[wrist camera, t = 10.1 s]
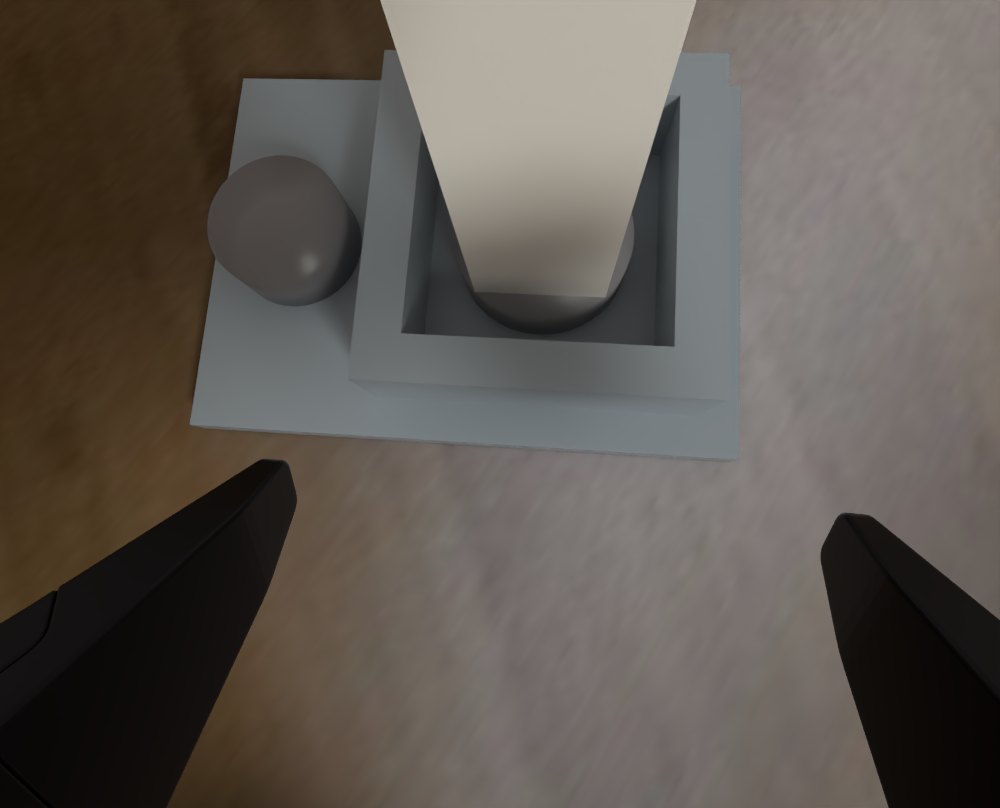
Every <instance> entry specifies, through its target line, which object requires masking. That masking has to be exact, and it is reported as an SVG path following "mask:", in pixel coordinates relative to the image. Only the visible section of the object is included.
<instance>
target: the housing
mask: <svg viewBox="0 0 1000 808" xmlns="http://www.w3.org/2000/svg"><path fill="white" fill-rule="evenodd" d="M740 205H741V85H730V53H680V56H679V59H678V62H677V66H676V69H675V72H674V75H673V79H672V82H671V85H670V88H669V92H668V95H667V98H666V102H665V105H664V108H663V111H662V115H661V118H660V121H659V124H658V128H657V131H656V134H655V137H654V141H653V144H652V147H651V151H650V154H649V157H648V160H647V164H646V167H645V170H644V173H643V177H642V180H641V183H640V186H639V190H638V193H637V196H636V199H635V203H634V206H633V209H632V217H633V222H634V245H633V251H632V255H631V259H630V261H629V264H628V267H627V270H626V272H625V275H624V278H623V280H622V283H621V285H620V288H619V290H618V291H617V293H616V295H615V297H614V298H613V299H612V301H611V302H610V303H609V305H608V306H607V307H606V308H605V309H604V310H603V311H602V312H601V313H600V314H599V315H597V316H596V317H595V318H593V319H592V320H590V321H589V322H587V323H585V324H584V325H582V326H579V327H577V328H575V329H572V330H569V331H566V332H562V333H556V334H547V335H537V334H528V333H524V332H519V331H516V330H513V329H511V328H508V327H506V326H504V325H502V324H500V323H498V322H497V321H495V320H494V319H493V318H491V317H490V316H488V315H487V314H486V313H485V312H484V311H483V310H482V309H481V308H480V307H479V305H478V304H477V303H476V302H475V300H474V299H473V297H472V295H471V294H470V292H469V290H468V288H467V285H466V283H465V280H464V277H463V274H462V272H461V269H460V266H459V263H458V259H457V256H456V252H455V243H454V230H455V229H454V226H453V223H452V220H451V217H450V214H449V211H448V208H447V205H446V202H445V199H444V196H443V192H442V189H441V186H440V183H439V180H438V177H437V174H436V171H435V168H434V165H433V162H432V158H431V155H430V152H429V149H428V146H427V143H426V140H425V137H424V134H423V131H422V128H421V125H420V121H419V118H418V115H417V112H416V109H415V106H414V103H413V100H412V97H411V94H410V91H409V87H408V84H407V81H406V78H405V75H404V72H403V69H402V66H401V63H400V60H399V57H398V54H397V50H384V59H383V68H382V77H381V80H320V79H249V78H243V85H242V91H241V98H240V104H239V111H238V117H237V123H236V130H235V136H234V143H233V149H232V156H231V162H230V169H229V175H228V178H227V180H226V181H225V182H224V183H223V184H222V185H221V187H220V188H219V190H218V191H217V193H216V195H215V197H214V199H213V201H212V203H211V206H210V209H209V214H208V220H207V234H208V240H209V244H210V247H211V250H212V252H213V254H214V256H215V257H216V259H215V265H214V272H213V278H212V285H211V291H210V297H209V304H208V310H207V317H206V323H205V330H204V336H203V342H202V349H201V355H200V362H199V368H198V375H197V381H196V388H195V394H194V400H193V407H192V413H191V420H190V425H193V426H198V427H202V428H209V429H224V430H240V431H255V432H271V433H287V434H302V435H318V436H333V437H349V438H364V439H380V440H395V441H411V442H427V443H442V444H458V445H473V446H489V447H504V448H520V449H536V450H551V451H567V452H582V453H598V454H613V455H629V456H645V457H660V458H676V459H691V460H707V461H722V462H731V461H736V460H739V384H740Z"/></svg>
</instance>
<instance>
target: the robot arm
mask: <svg viewBox="0 0 1000 808" xmlns="http://www.w3.org/2000/svg"><path fill="white" fill-rule="evenodd" d="M296 504H297V495H296V491H295V487H294V483H293V479H292V475H291V471H290V468H289V465H288V464H287V462H286V461H283V460H275V459H261V460H259V461H257V462H256V463H254V464H252V465H251V466H249V467H248V468H246V469H245V470H243V471H241V472H240V473H238V474H237V475H235V476H233V477H232V478H230V479H229V480H227V481H226V482H224V483H222V484H221V485H219V486H218V487H216V488H215V489H213V490H211V491H210V492H208V493H207V494H205V495H204V496H202V497H200V498H199V499H197V500H196V501H194V502H192V503H191V504H189V505H188V506H186V507H185V508H183V509H181V510H180V511H178V512H177V513H175V514H174V515H172V516H170V517H169V518H167V519H166V520H164V521H163V522H161V523H159V524H158V525H156V526H155V527H153V528H151V529H150V530H148V531H147V532H145V533H144V534H142V535H140V536H139V537H137V538H136V539H134V540H133V541H131V542H129V543H128V544H126V545H125V546H123V547H122V548H120V549H118V550H117V551H115V552H114V553H112V554H110V555H109V556H107V557H106V558H104V559H103V560H101V561H99V562H98V563H96V564H95V565H93V566H92V567H90V568H88V569H87V570H85V571H84V572H82V573H80V574H79V575H77V576H76V577H74V578H73V579H71V580H69V581H68V582H66V583H65V584H63V585H62V586H60V587H59V588H58V591H52V592H50V593H49V594H47V595H46V596H44V597H42V598H41V599H39V600H38V601H36V602H34V603H33V604H31V605H30V606H28V607H27V608H25V609H23V610H22V611H20V612H18V613H17V614H15V615H13V616H12V617H10V618H9V619H7V620H5V621H4V622H2V623H0V808H166V807H167V805H168V803H169V801H170V799H171V797H172V794H173V792H174V790H175V788H176V786H177V784H178V782H179V779H180V777H181V775H182V773H183V771H184V769H185V767H186V765H187V762H188V760H189V758H190V756H191V754H192V752H193V750H194V747H195V745H196V743H197V741H198V739H199V737H200V735H201V732H202V730H203V728H204V726H205V724H206V722H207V720H208V717H209V715H210V713H211V711H212V709H213V707H214V705H215V702H216V700H217V698H218V696H219V694H220V692H221V690H222V687H223V685H224V683H225V681H226V679H227V677H228V675H229V672H230V670H231V668H232V666H233V664H234V662H235V660H236V657H237V655H238V653H239V651H240V649H241V647H242V645H243V642H244V640H245V638H246V636H247V634H248V632H249V630H250V627H251V625H252V623H253V621H254V619H255V617H256V615H257V612H258V610H259V608H260V606H261V604H262V602H263V599H264V597H265V595H266V593H267V590H268V588H269V585H270V583H271V580H272V577H273V574H274V571H275V568H276V565H277V562H278V560H279V557H280V554H281V551H282V548H283V545H284V542H285V539H286V536H287V533H288V530H289V527H290V524H291V521H292V518H293V515H294V512H295V509H296ZM821 565H822V570H823V575H824V580H825V585H826V590H827V595H828V600H829V605H830V610H831V615H832V620H833V625H834V630H835V635H836V640H837V644H838V649H839V653H840V656H841V660H842V663H843V666H844V670H845V673H846V676H847V679H848V682H849V685H850V688H851V691H852V695H853V698H854V701H855V704H856V707H857V710H858V713H859V716H860V720H861V723H862V726H863V729H864V732H865V735H866V738H867V741H868V745H869V748H870V751H871V754H872V757H873V760H874V763H875V766H876V769H877V773H878V776H879V779H880V782H881V785H882V788H883V791H884V794H885V798H886V801H887V804H888V807H889V808H1000V620H999V619H998V618H997V617H995V616H994V615H993V614H992V613H990V612H989V611H988V610H987V609H985V608H984V607H983V606H982V605H981V604H979V603H978V602H977V601H976V600H974V599H973V598H972V597H971V596H969V595H968V594H967V593H966V592H965V591H963V590H962V589H961V588H960V587H958V586H957V585H956V584H955V583H953V582H952V581H951V580H950V579H948V578H947V577H946V576H945V575H944V574H942V573H941V572H940V571H939V570H937V569H936V568H935V567H934V566H932V565H931V564H930V563H929V562H928V561H926V560H925V559H924V558H923V557H921V556H920V555H919V554H918V553H916V552H915V551H914V550H913V549H912V548H910V547H909V546H908V545H907V544H905V543H904V542H903V541H902V540H900V539H899V538H898V537H897V536H895V535H894V534H893V533H892V532H891V531H889V530H888V529H887V528H886V527H884V526H883V525H882V524H881V523H879V522H878V521H877V520H876V519H874V518H873V517H871V516H869V515H865V514H855V513H842V514H840V515H839V516H838V517H837V518H836V520H835V522H834V524H833V526H832V528H831V530H830V532H829V534H828V536H827V538H826V540H825V542H824V544H823V546H822V549H821Z"/></svg>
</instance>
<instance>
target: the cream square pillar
mask: <svg viewBox="0 0 1000 808" xmlns="http://www.w3.org/2000/svg"><path fill="white" fill-rule="evenodd" d="M380 1H381V4H382V7H383V10H384V13H385V16H386V20H387V23H388V26H389V29H390V32H391V35H392V38H393V41H394V44H395V47H396V50H397V54H398V57H399V60H400V63H401V66H402V69H403V72H404V75H405V78H406V81H407V84H408V87H409V91H410V94H411V97H412V100H413V103H414V106H415V109H416V112H417V115H418V118H419V121H420V125H421V128H422V131H423V134H424V137H425V140H426V143H427V146H428V149H429V152H430V155H431V158H432V162H433V165H434V168H435V171H436V174H437V177H438V180H439V183H440V186H441V189H442V192H443V196H444V199H445V202H446V205H447V208H448V211H449V214H450V217H451V220H452V223H453V226H454V229H455V230H454V243H455V252H456V256H457V259H458V263H459V266H460V269H461V272H462V274H463V277H464V280H465V283H466V285H467V288H468V290H469V292H470V294H471V295H472V297H473V299H474V300H475V302H476V303H477V304H478V305H479V307H480V308H481V309H482V310H483V311H484V312H485V313H486V314H487V315H488V316H490V317H491V318H493V319H494V320H495V321H497V322H498V323H500V324H502V325H504V326H506V327H508V328H511V329H513V330H516V331H519V332H524V333H528V334H537V335H547V334H556V333H562V332H566V331H569V330H572V329H575V328H577V327H579V326H582V325H584V324H585V323H587V322H589V321H590V320H592V319H593V318H595V317H596V316H597V315H599V314H600V313H601V312H602V311H603V310H604V309H605V308H606V307H607V306H608V305H609V303H610V302H611V301H612V299H613V298H614V297H615V295H616V293H617V291H618V290H619V288H620V285H621V283H622V280H623V278H624V275H625V272H626V270H627V267H628V264H629V261H630V259H631V255H632V251H633V245H634V222H633V217H632V209H633V206H634V203H635V199H636V196H637V193H638V190H639V186H640V183H641V180H642V177H643V173H644V170H645V167H646V164H647V160H648V157H649V154H650V151H651V147H652V144H653V141H654V137H655V134H656V131H657V128H658V124H659V121H660V118H661V115H662V111H663V108H664V105H665V102H666V98H667V95H668V92H669V88H670V85H671V82H672V79H673V75H674V72H675V69H676V66H677V62H678V59H679V56H680V53H681V49H682V46H683V43H684V39H685V36H686V33H687V30H688V26H689V23H690V20H691V17H692V13H693V10H694V7H695V4H696V0H380Z"/></svg>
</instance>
